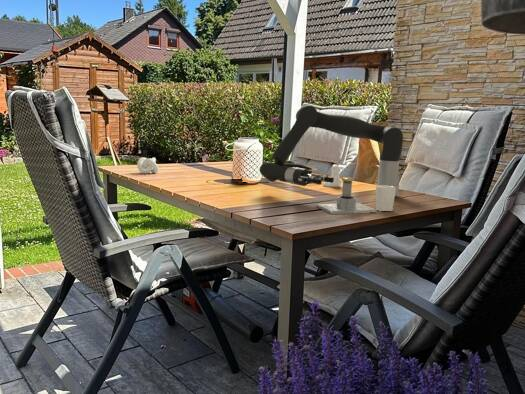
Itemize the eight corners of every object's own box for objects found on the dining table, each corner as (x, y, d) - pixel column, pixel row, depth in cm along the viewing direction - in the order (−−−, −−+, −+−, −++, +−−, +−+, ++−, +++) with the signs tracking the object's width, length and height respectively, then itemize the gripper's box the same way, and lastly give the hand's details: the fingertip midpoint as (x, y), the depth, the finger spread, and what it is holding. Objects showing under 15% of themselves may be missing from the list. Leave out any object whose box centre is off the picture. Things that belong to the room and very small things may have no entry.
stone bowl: (267, 174, 296) (269, 159, 295) (303, 176, 307) (305, 162, 306) (287, 180, 274) (288, 163, 273) (324, 182, 285) (326, 166, 284)
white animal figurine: (140, 174, 278) (140, 159, 277) (134, 172, 288) (134, 156, 287) (159, 174, 284) (159, 158, 282) (153, 171, 294) (153, 156, 292)
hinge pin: (348, 205, 205) (350, 177, 203) (353, 207, 201) (355, 178, 199) (338, 205, 204) (340, 177, 202) (343, 208, 200) (345, 179, 197)
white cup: (385, 213, 199) (387, 188, 197) (370, 209, 205) (372, 185, 203) (397, 211, 204) (399, 187, 202) (382, 207, 210) (384, 184, 208)
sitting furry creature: (335, 184, 268) (336, 162, 266) (346, 187, 261) (347, 164, 259) (322, 185, 263) (323, 163, 261) (332, 188, 256) (334, 165, 254)
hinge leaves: (359, 205, 212) (360, 193, 211) (375, 212, 199) (376, 200, 198) (316, 206, 206) (317, 194, 205) (330, 214, 193) (331, 201, 192)
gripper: (287, 168, 212) (317, 173, 202) (307, 166, 223) (337, 171, 212) (286, 186, 214) (316, 191, 203) (306, 183, 224) (336, 188, 213)
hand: (327, 181), depth 207 cm, fingers open, 8 cm apart
